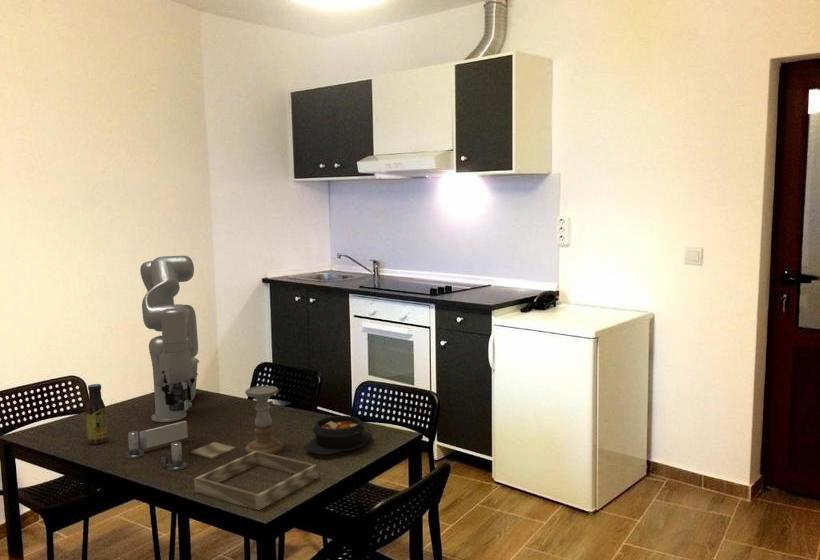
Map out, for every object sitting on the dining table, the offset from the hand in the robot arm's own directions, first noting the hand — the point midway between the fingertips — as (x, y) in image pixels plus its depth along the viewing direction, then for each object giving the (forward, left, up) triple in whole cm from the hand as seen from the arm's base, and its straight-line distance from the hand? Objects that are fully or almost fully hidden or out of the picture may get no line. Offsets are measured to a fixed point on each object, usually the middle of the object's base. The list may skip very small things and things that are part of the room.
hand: (178, 401), depth 220 cm
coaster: (-7, +7, -17) cm, 20 cm away
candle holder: (-16, +21, -18) cm, 32 cm away
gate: (-2, -10, -16) cm, 19 cm away
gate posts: (+8, -3, -17) cm, 19 cm away
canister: (-40, -49, -18) cm, 65 cm away
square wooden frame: (+6, +39, -17) cm, 43 cm away
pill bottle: (0, 0, -3) cm, 3 cm away
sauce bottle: (+6, -35, -18) cm, 40 cm away
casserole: (-30, +41, -18) cm, 54 cm away
